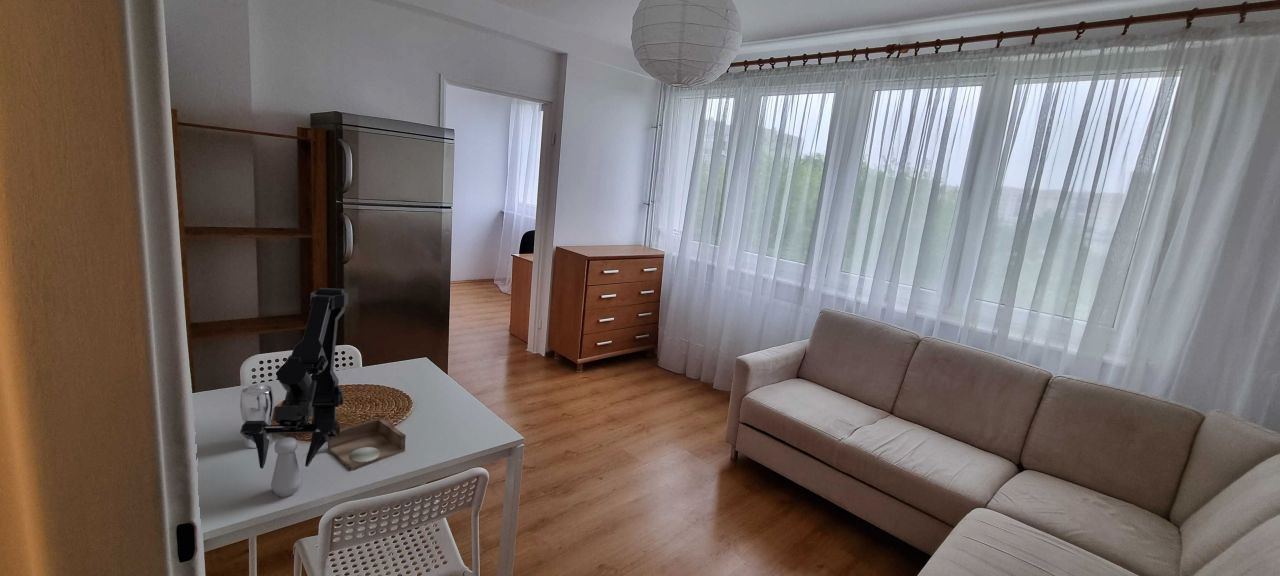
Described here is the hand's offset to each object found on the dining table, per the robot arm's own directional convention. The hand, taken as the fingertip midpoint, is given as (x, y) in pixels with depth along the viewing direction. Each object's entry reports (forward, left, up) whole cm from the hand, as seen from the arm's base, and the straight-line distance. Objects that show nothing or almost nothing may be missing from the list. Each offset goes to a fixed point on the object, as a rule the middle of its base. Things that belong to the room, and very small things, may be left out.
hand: (284, 467), depth 118 cm
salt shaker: (-1, +1, -7) cm, 7 cm away
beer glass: (-27, +4, -7) cm, 28 cm away
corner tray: (-7, +22, -7) cm, 24 cm away
